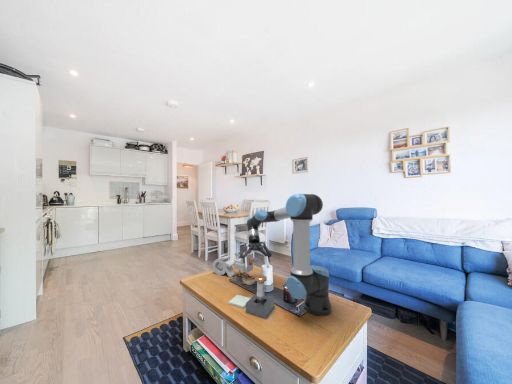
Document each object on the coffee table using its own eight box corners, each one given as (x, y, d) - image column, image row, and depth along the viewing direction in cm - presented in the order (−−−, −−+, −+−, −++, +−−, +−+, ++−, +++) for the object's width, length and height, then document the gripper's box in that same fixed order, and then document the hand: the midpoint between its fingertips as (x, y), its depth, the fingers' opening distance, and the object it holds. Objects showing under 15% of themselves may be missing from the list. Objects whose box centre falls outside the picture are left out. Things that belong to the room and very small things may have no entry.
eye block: (274, 307, 119) (274, 298, 119) (265, 318, 108) (266, 309, 108) (255, 302, 124) (255, 293, 124) (245, 312, 113) (245, 303, 113)
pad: (251, 300, 126) (251, 298, 126) (243, 308, 117) (243, 306, 117) (237, 296, 131) (237, 294, 131) (228, 303, 122) (228, 302, 122)
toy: (248, 282, 151) (249, 254, 151) (231, 275, 162) (232, 250, 162) (256, 277, 159) (257, 251, 159) (240, 272, 170) (240, 247, 170)
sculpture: (234, 278, 165) (238, 260, 163) (229, 281, 159) (234, 262, 157) (215, 268, 172) (219, 251, 171) (210, 270, 167) (215, 253, 165)
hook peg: (267, 308, 117) (268, 276, 117) (263, 314, 112) (263, 280, 112) (257, 305, 120) (258, 274, 120) (252, 311, 114) (253, 278, 114)
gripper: (270, 240, 146) (275, 269, 132) (235, 240, 142) (236, 271, 127) (272, 234, 141) (278, 263, 126) (235, 234, 137) (237, 265, 122)
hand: (257, 267), depth 127 cm, fingers open, 13 cm apart
